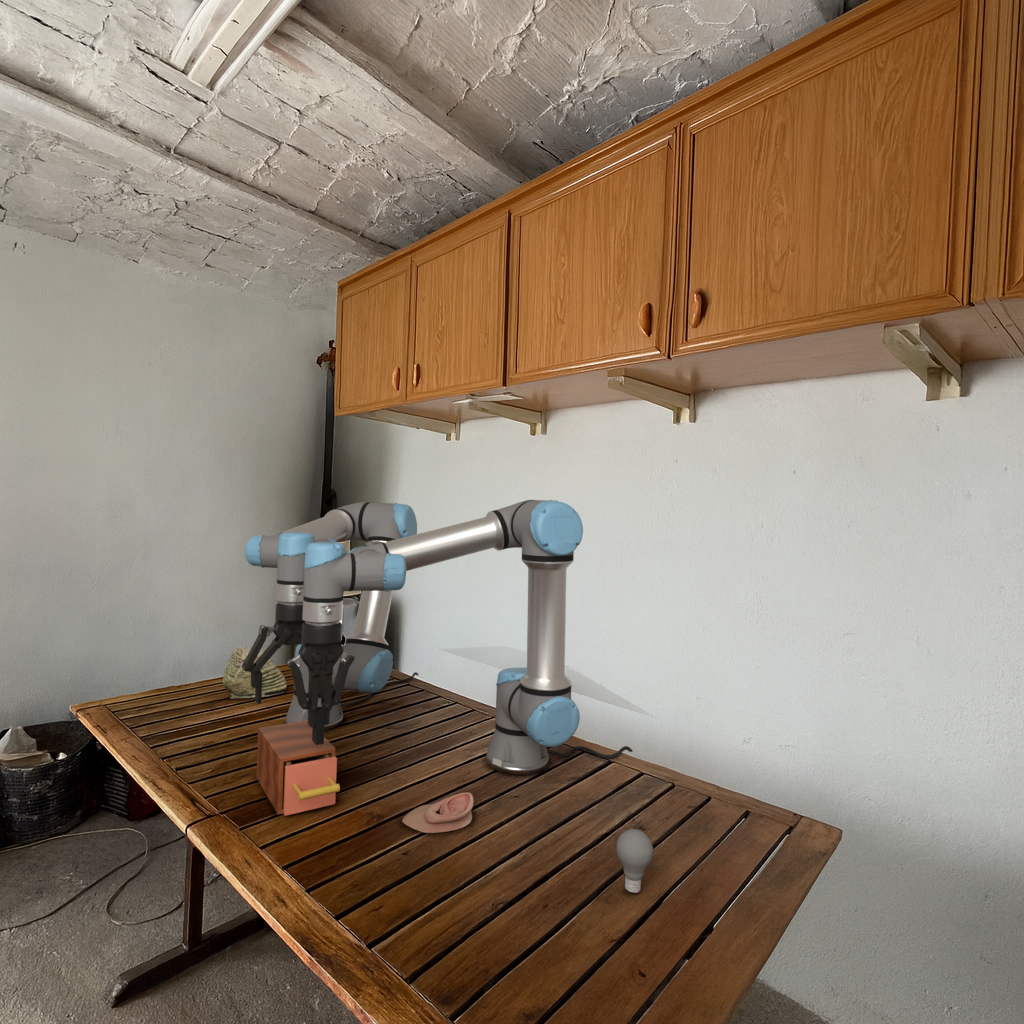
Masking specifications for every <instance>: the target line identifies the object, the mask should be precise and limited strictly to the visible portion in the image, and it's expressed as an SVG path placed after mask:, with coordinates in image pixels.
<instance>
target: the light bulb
mask: <svg viewBox="0 0 1024 1024" xmlns="http://www.w3.org/2000/svg"><path fill="white" fill-rule="evenodd" d="M615 849H616V854H617V857H618V859H619V861H620V863H621V865H622V867H623V873H624V874H623V875H624V876H625V878H624V888H625V890H627V891H628V892H630V893H634V894H635V893H639V892H640V891H641V889H642V887H641V886H642V879H643V877H644V875H645V871H646V868H647V867H648V866H649V864H650V863H651V861H652V859H653V855H654V847H653V843H652V841H651V838H649V836H648V835H647V834H646V833H645V832H643V831H642V830H641V829H636V828H629V829H627V830H625V831H623V832H622V833H621V834H620V835H619V837H618V839H617V841H616V847H615Z"/></svg>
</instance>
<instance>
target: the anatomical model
mask: <svg viewBox="0 0 1024 1024" xmlns="http://www.w3.org/2000/svg"><path fill="white" fill-rule="evenodd" d="M473 807H474V796H473V794H472V793H471V792H467V791H466V792H461V793H456V794H453V795H450V796H448V797H445V798H443V799H441V800H439V801H436V802H434V803H431V804H430V803H429V804H423V805H421V806H418V807H416V808H414V809H412V810H411V811H409V812H408V813H407V814H405V816H403V817H402V820H401V821H402V823H403V824H404V825H405V826H406V827H409V828H410V829H412V830H415V831H418V832H421V833H424V834H435V833H437V834H438V833H446V832H452V831H456V830H459V829H463V828H464V827H466V826H468V825H470V824H471V822H472V820H473V813H472V809H474V808H473Z"/></svg>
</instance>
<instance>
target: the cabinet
mask: <svg viewBox="0 0 1024 1024" xmlns="http://www.w3.org/2000/svg"><path fill="white" fill-rule="evenodd" d="M312 728H313V727H310V726H309V725H308V720H306V721H300V722H294V723H287V724H286V723H281V724H276V725H269V726H263V727H262V726H261V727H258V728H257V753H256V754H257V755H256V778H255V779H256V780H257V781H258V783H259V785H260V786H261V788H262V790H263V791H264V794H265V795H266V797H267V799H268V800H269V802H270V804H271V805H272V807H273V809H274V811H275V812H276V814H277V815H282V814H283V815H284V813H283V810H284V805H283V803H282V797H283V771H284V762H286V761H291V760H297V759H302V758H307V757H312V756H318V755H323V754H329V756H330V757H336V748H335V746H334V745H333V744H332V743H331V742H330V741H329V740H328V739H327V738H326V737H325V736H324V744H320V745H316V744H315V743H314V742H313V741H312Z"/></svg>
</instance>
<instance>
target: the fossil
mask: <svg viewBox="0 0 1024 1024" xmlns="http://www.w3.org/2000/svg"><path fill="white" fill-rule="evenodd" d="M250 650H251V647H247V646H246V647H245V646H238V647H237V648H236V649H235V650H233V651H232V653H231V656H230V657H229V659H228V660H227V663H226V666H225V668H224V671H223V675H222V676H223V677H222V685H223V687H224V688H225V690H226V691H228V693H229V698H230V699H250V698H255V688H252V686H251V672H249V671H245V670H244V669H243V668H242V664H243V663H244V661H245V659H246V657H247V655H248V653H249V652H250ZM264 651H265V649H263V648H261V650H260V652H259V654H258V655H257V657H256V659H255V661H254V663H255V662H256V660H257V659H258V658H259V657H260V656H261V655H262V653H263V652H264ZM254 663H253V664H254ZM260 671H261V672H262V698H264V697H271V696H275V695H281V694H284V693H285V691H286V689H287V687H288V686H287V680H286V678H285V676H284V674H283V673H282V672H281V669H279V668H278V667H277V665H276V663H275V662H274V660H273V659H272V657H271V658H270V659H269V660H268V661H267V663H266V664H265V665H264V666H263V667H262V668H261V670H260Z"/></svg>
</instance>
